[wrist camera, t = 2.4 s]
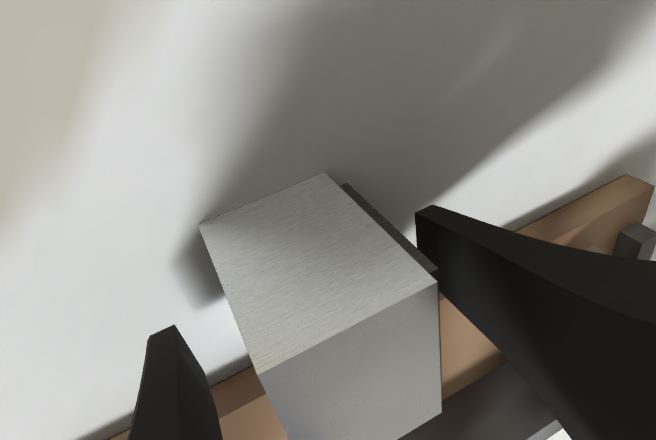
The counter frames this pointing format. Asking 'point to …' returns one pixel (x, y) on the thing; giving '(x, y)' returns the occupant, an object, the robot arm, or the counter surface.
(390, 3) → the counter surface
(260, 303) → the matte gray brick
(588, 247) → the rail
